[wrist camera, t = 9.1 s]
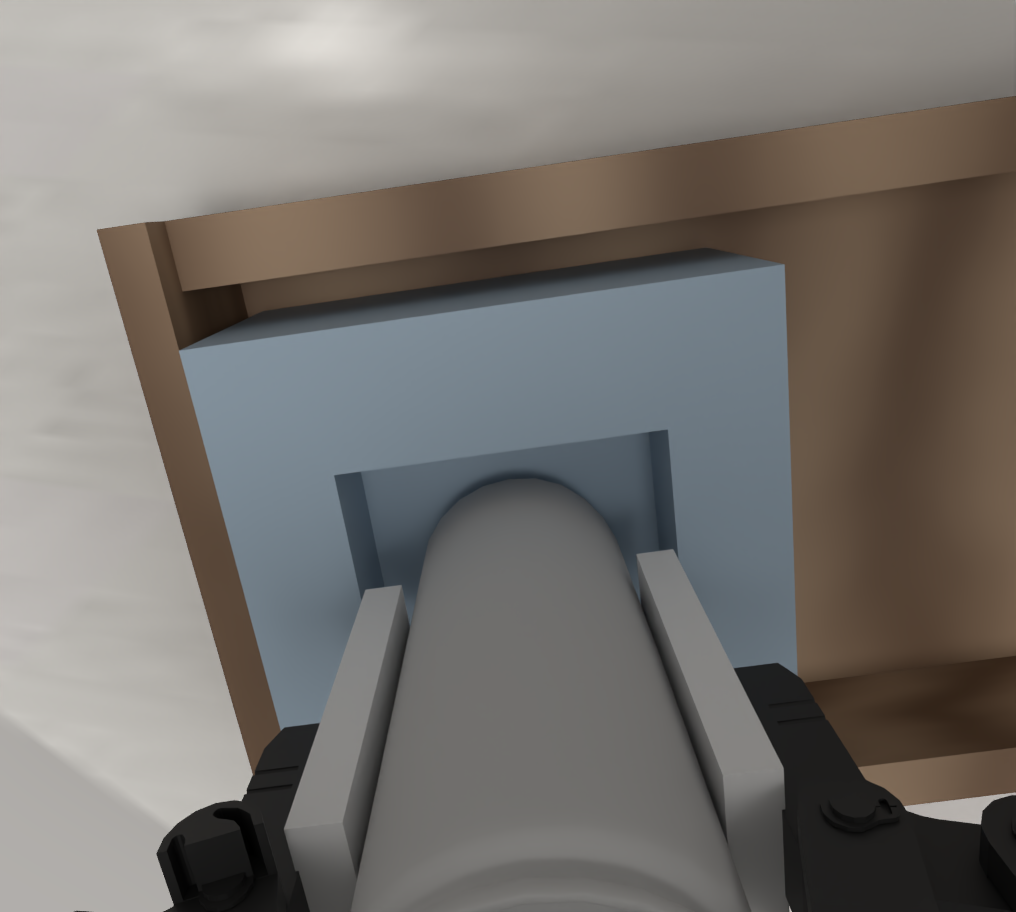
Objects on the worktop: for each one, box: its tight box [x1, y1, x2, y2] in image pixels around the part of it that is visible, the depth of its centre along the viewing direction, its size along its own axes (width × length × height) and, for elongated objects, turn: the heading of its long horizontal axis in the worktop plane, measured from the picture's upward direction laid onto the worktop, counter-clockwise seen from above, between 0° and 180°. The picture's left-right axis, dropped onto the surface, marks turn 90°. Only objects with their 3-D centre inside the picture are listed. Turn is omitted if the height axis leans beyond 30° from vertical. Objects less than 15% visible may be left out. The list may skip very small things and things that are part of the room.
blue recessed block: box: [179, 247, 798, 730], centre depth 20 cm, size 12×13×6 cm
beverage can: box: [350, 478, 751, 912], centre depth 14 cm, size 5×5×12 cm
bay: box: [97, 96, 1016, 806], centre depth 21 cm, size 26×18×6 cm
